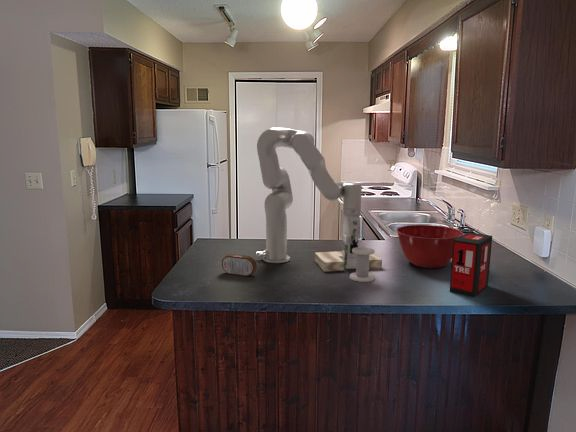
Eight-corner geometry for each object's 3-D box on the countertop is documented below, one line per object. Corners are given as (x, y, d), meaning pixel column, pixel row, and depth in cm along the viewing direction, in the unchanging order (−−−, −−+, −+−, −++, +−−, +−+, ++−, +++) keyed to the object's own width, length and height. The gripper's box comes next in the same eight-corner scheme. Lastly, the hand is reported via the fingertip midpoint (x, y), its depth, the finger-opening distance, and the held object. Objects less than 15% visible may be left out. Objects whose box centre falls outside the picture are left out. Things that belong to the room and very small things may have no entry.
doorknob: (354, 282, 179) (355, 253, 176) (346, 274, 188) (347, 247, 186) (378, 281, 180) (379, 252, 178) (369, 273, 190) (370, 246, 188)
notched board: (324, 271, 193) (324, 262, 192) (314, 260, 208) (314, 252, 207) (381, 268, 197) (382, 259, 197) (368, 258, 213) (368, 250, 212)
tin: (257, 275, 187) (256, 256, 185) (254, 278, 184) (253, 258, 182) (224, 271, 192) (223, 252, 190) (220, 274, 189) (220, 254, 187)
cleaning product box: (473, 297, 164) (478, 243, 160) (449, 291, 169) (453, 239, 166) (487, 285, 176) (492, 235, 173) (464, 280, 182) (468, 232, 178)
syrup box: (341, 265, 202) (342, 233, 199) (354, 264, 202) (355, 233, 200) (344, 269, 196) (345, 236, 193) (357, 268, 197) (359, 236, 194)
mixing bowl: (383, 264, 204) (384, 230, 201) (413, 252, 224) (415, 221, 221) (443, 278, 185) (446, 241, 182) (470, 263, 205) (473, 230, 203)
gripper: (367, 215, 187) (365, 255, 190) (353, 208, 203) (351, 244, 207) (349, 215, 185) (347, 256, 189) (337, 208, 202) (335, 245, 205)
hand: (349, 250), depth 198 cm, fingers open, 9 cm apart
